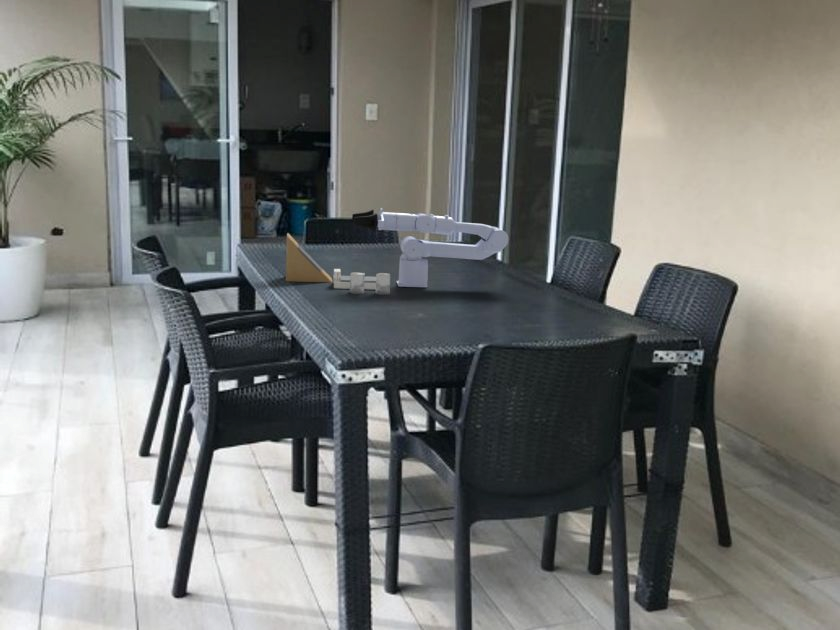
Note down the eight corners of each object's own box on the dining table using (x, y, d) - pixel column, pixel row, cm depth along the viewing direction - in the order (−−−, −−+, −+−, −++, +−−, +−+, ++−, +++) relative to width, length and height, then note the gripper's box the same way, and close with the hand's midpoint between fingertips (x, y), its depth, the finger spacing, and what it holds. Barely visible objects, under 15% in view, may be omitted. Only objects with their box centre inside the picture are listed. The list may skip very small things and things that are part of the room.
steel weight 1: (363, 291, 275) (364, 272, 273) (364, 294, 271) (365, 275, 269) (349, 290, 274) (350, 272, 273) (350, 293, 270) (350, 274, 269)
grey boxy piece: (376, 284, 287) (376, 269, 286) (378, 289, 279) (378, 274, 277) (332, 282, 285) (332, 267, 284) (333, 288, 277) (333, 272, 276)
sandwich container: (332, 282, 286) (334, 237, 283) (285, 281, 284) (286, 235, 281) (331, 278, 295) (333, 233, 291) (285, 276, 292) (286, 232, 289)
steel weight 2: (388, 292, 276) (389, 273, 274) (390, 294, 272) (391, 275, 270) (375, 291, 275) (375, 272, 274) (376, 294, 271) (376, 275, 270)
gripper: (393, 206, 289) (352, 203, 287) (398, 212, 275) (355, 209, 273) (391, 227, 291) (350, 225, 289) (397, 234, 277) (354, 232, 275)
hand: (353, 219), depth 281 cm, fingers open, 7 cm apart
